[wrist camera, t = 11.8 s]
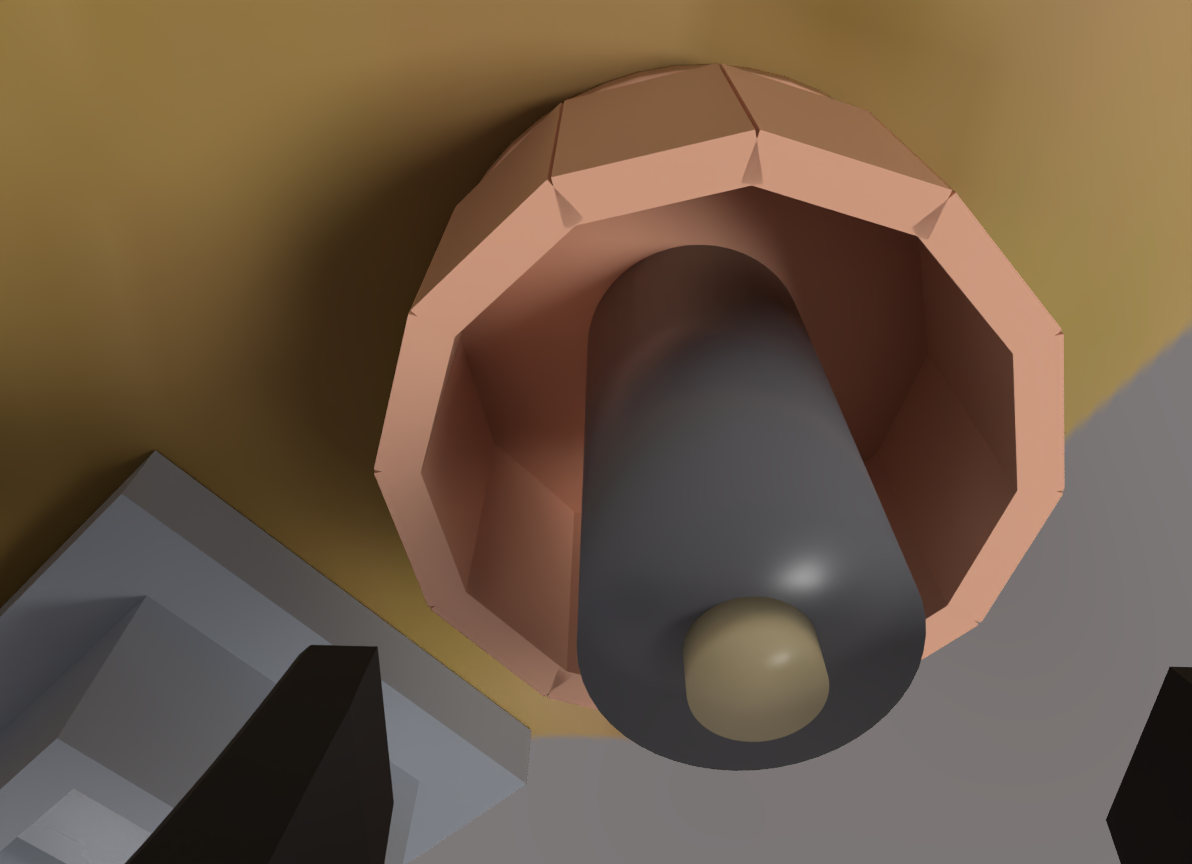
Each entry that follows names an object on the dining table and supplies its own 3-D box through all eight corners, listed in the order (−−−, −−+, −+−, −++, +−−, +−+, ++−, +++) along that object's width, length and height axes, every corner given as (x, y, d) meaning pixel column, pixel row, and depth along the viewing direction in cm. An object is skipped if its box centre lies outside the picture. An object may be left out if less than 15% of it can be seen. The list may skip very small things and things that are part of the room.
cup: (667, 605, 21) (685, 803, 16) (335, 317, 17) (245, 467, 13) (1045, 338, 17) (1190, 495, 13) (724, -69, 14) (775, -40, 10)
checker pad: (206, 890, 22) (191, 932, 21) (31, 790, 21) (5, 830, 20) (333, 797, 21) (320, 838, 20) (154, 681, 19) (132, 720, 18)
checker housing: (258, 919, 26) (188, 1133, 21) (-103, 713, 22) (-275, 919, 18) (530, 730, 22) (513, 939, 18) (155, 450, 19) (19, 626, 14)
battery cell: (685, 475, 18) (736, 859, 11) (543, 345, 17) (499, 686, 10) (845, 349, 17) (1014, 695, 10) (704, 198, 15) (785, 472, 9)
